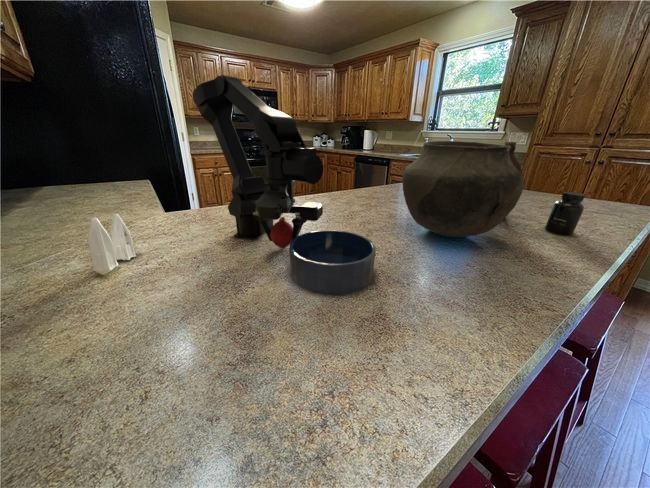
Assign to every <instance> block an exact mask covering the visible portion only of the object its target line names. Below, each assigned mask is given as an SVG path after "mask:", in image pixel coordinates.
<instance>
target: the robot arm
mask: <svg viewBox="0 0 650 488" xmlns="http://www.w3.org/2000/svg"><path fill="white" fill-rule="evenodd" d="M192 100H193V103H194V105H195V106H196V108H197V111H198V112H199V114H200V116H201V117H202V118H203V119H204V120H205V121H207V123H209V124H210V126H212V128H213V131H214V134H215V136H216V139H217V141H218V144H219V147H220V149H221V151H222V154H223V156H224V159H225V162H226V164H227V167H228V169H229V171H230V175H231V176H232V186H231V194H232V198H231V200H230V202H229V203H228V205H227V210H228V213H229V215H230V216H232V217H235V225H236V233H235V234H233V237H234V238H240V239H249V240H258V239H259V238H260V237H261V236H262V235H264V234H266V236H267V238H268V241H269V242H273V241H272V240H271V237H270V233H271V229H272V227H273V225H274V221H276V220H280V218H281V217H282V215H283V214H294V218H293V219H291V224H292V227H293V239H294V238H296V237H297V236H299V235H300V233H301V230H302V227H303V226H304V224H305V223H306V222H309V221H310V222H316V221H318V220H320V218H321V217H322V216H323V214H324V207H323V205H322V203H321V202H314V201H306V202H304V203H303V204H302V205H299V204H298V205H297V204H295V203H296V198H295V197H294V186H296V182H299V183H304V184H310V185H316V184H317V183H318V182H320V180H321V178H322V177H323V173H324V164H323V161H322V158H321V157H320V156H319V155H318V154H317V151H318V150H317V147H307V145H306V143H305V141H304V139H303V137H302V135H301V133H300V132H299V129H298V127H297V122H296V120H295V119H294V118H293V117H292V116H290V115H288V114H287V113H285V112H283V111H280V110H278V109H275V108H272V107H271V106H269V105H267V103H265V102H264V101H263V100H262V99H261V98H259V96H257V95H256V94H255V93H254V92H253V91H252V90H251V89H250V88H249V87H248V86H246V85H245V84H244V83H243V81H242V80H241V79H240V78H238V77H236V76H232V75H227V74H220V75H217V76H216V77H215V78H213V79H210V80H207V81H205V82H202V83H200V84H198V85H197V86H196V87H195V88H194V89H193V91H192ZM234 107H235V108H237V110H239V111H240V112H241V113H242V114H243V115H244V116H245V118H247V119H248V120H249V121H250V122H251V123H252V125H253V130H254V133H255V134H256V136H257V137H258V138H259V140H260V142H262V143H263V145H264V146H263V147H262V148H261V149H260V151H258V153H259V155H260V156H265V167H266V183H265V180H264V178H263V176H261V175H259V176H256V175H255V174H254V173H253V172H252V169H251V166H250V163H249V162H248V158H247V156H246V153H245V151H244V148H243V146H242V144H241V141H240V138H239V136H238V133H237V131H236V128H235V125H234V123H233V120H232V117H233V113H234V112H233V111H234Z"/></svg>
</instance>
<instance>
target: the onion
mask: <svg viewBox="0 0 650 488" xmlns="http://www.w3.org/2000/svg"><path fill="white" fill-rule="evenodd" d="M291 224H292V223H290V222H288V221H287V220H286V218H285V216H281V217H280V218H279V219H278V221H277V222H275V223H273V227H272V229H271V233H270V237H271V240H272V241H271V242H272V243H273V244H274V245H275V246H276V247H279V248H280V249H286V248H287V247H289V245H290V242H291V241H292V240H293V225H291Z"/></svg>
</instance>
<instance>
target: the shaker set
mask: <svg viewBox="0 0 650 488" xmlns="http://www.w3.org/2000/svg"><path fill="white" fill-rule="evenodd" d="M87 243H88V249H89V252H90V256H91V263H92V270H93V271H94V272H95V273H98V274H100V275H102V276H105V275H106V274H109V273H110V272H111V271H112V270H113V269H115V268H117V267H118V266H119V263H118V261H119V260H123V261H124V262H125V261H127V260H128V261H129V260H131V258H135V257H136V253H135V252H136V250H135V249H134V242H133V239H132V234H131V232H130V230H129V228H128V227H127V225H126V224H125V222H124V220H123V219H122V217H120V215H119V214H118V213H114V214H113V215H112V220H111V225H110V231H109V233H108V232H107V230H106V229H105V228H104V226H103V224H102V223H101V221H100V220H99V219H98V217H92V218H91V220H90V225H89V233H88V239H87Z"/></svg>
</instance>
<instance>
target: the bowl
mask: <svg viewBox="0 0 650 488" xmlns="http://www.w3.org/2000/svg"><path fill="white" fill-rule="evenodd" d="M376 250H377V248H376V245H375V243H374V242H373V241H372V240H371V239H369V238H368V237H366V236H363V235H361V234H358V233H355V232H350V231H345V230H337V229H336V230H335V229H323V230H314V231H308V232H305V233H302V234H299V236H297V237H296V238H294V239H293V240H292V241H291V242H290V244H289V245H288V254H289V255H288V256H289V257H288V258H289V259H288V260H289V273H290V277H291V279H292V281H293V282H294V283H295V284H297V285H298V286H299V287H300V288H303V289H304V290H307V291H309V292H314V293H317V294H322V295H347V294H351V293H355V292H358V291H361V290H363V289H364V288H366V287H367V286H368V285H370V283H371V281H372V280H373V277H374V270H375V268H374V267H375V259H376V252H377V251H376Z"/></svg>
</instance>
